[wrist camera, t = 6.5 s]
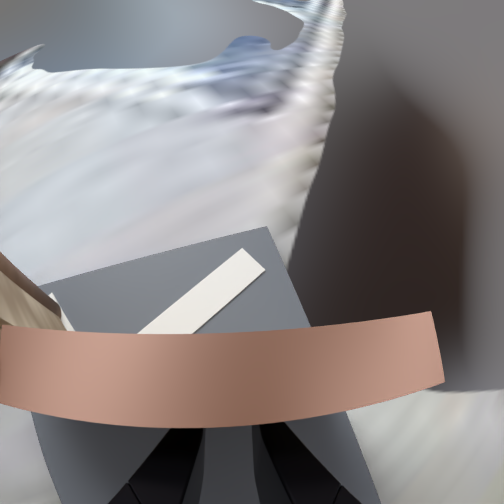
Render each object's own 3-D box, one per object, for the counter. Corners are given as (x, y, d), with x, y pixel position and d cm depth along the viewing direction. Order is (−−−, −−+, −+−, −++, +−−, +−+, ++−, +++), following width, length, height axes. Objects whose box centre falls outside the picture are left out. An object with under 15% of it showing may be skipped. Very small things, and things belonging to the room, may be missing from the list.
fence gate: (76, 407, 11) (-57, 387, 4) (75, 368, 12) (-50, 310, 4) (322, 402, 13) (450, 384, 5) (317, 363, 14) (434, 304, 6)
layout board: (377, 503, 11) (382, 505, 11) (107, 576, 7) (104, 580, 6) (265, 230, 19) (267, 225, 18) (20, 295, 14) (15, 292, 14)
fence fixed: (92, 358, 13) (-29, 288, 5) (69, 378, 12) (-64, 327, 4) (52, 293, 14) (-47, 189, 6) (31, 312, 13) (-78, 220, 5)
